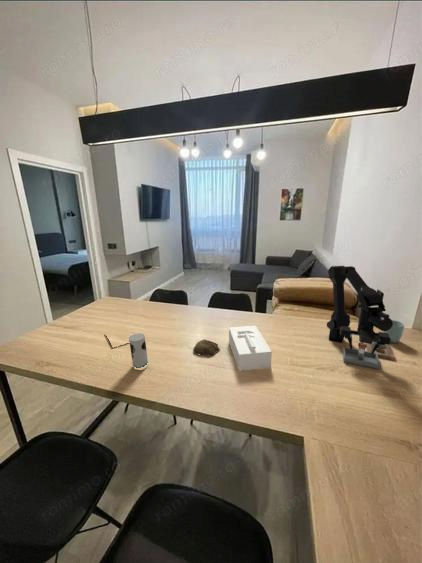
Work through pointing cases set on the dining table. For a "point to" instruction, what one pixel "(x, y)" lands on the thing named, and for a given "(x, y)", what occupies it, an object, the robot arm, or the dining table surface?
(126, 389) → the dining table surface
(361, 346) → the lock pin
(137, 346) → the grey cylinder
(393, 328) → the cup
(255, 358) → the white rectangular block
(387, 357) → the block
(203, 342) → the dark brown rock
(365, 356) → the tray
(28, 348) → the dining table surface
